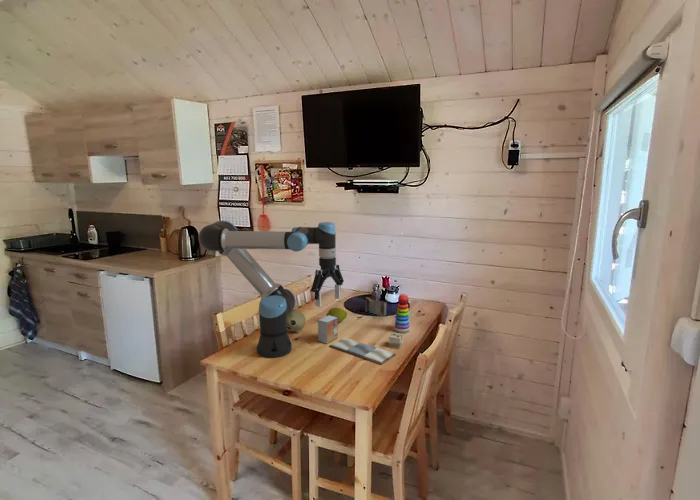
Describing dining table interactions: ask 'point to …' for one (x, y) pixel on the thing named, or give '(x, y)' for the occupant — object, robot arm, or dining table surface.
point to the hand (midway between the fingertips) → (328, 302)
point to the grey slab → (376, 307)
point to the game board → (363, 350)
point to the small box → (327, 329)
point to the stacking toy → (402, 315)
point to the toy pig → (295, 321)
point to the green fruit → (337, 313)
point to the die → (396, 340)
